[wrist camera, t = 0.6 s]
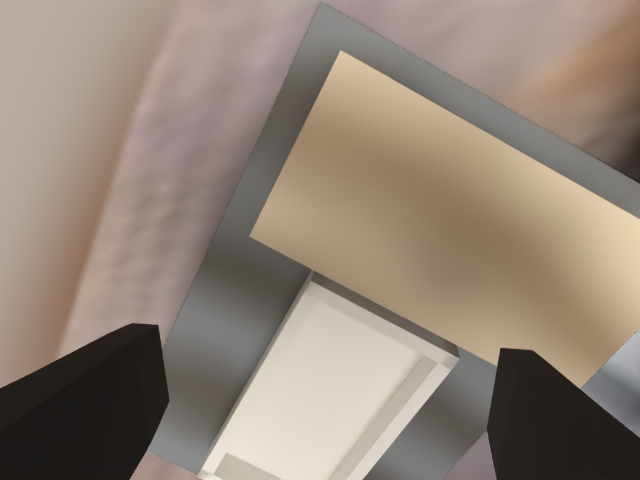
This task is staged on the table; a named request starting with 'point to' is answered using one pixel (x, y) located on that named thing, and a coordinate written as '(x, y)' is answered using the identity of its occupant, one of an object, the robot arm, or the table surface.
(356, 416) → the tray shell
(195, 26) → the table surface
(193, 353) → the overhang board
